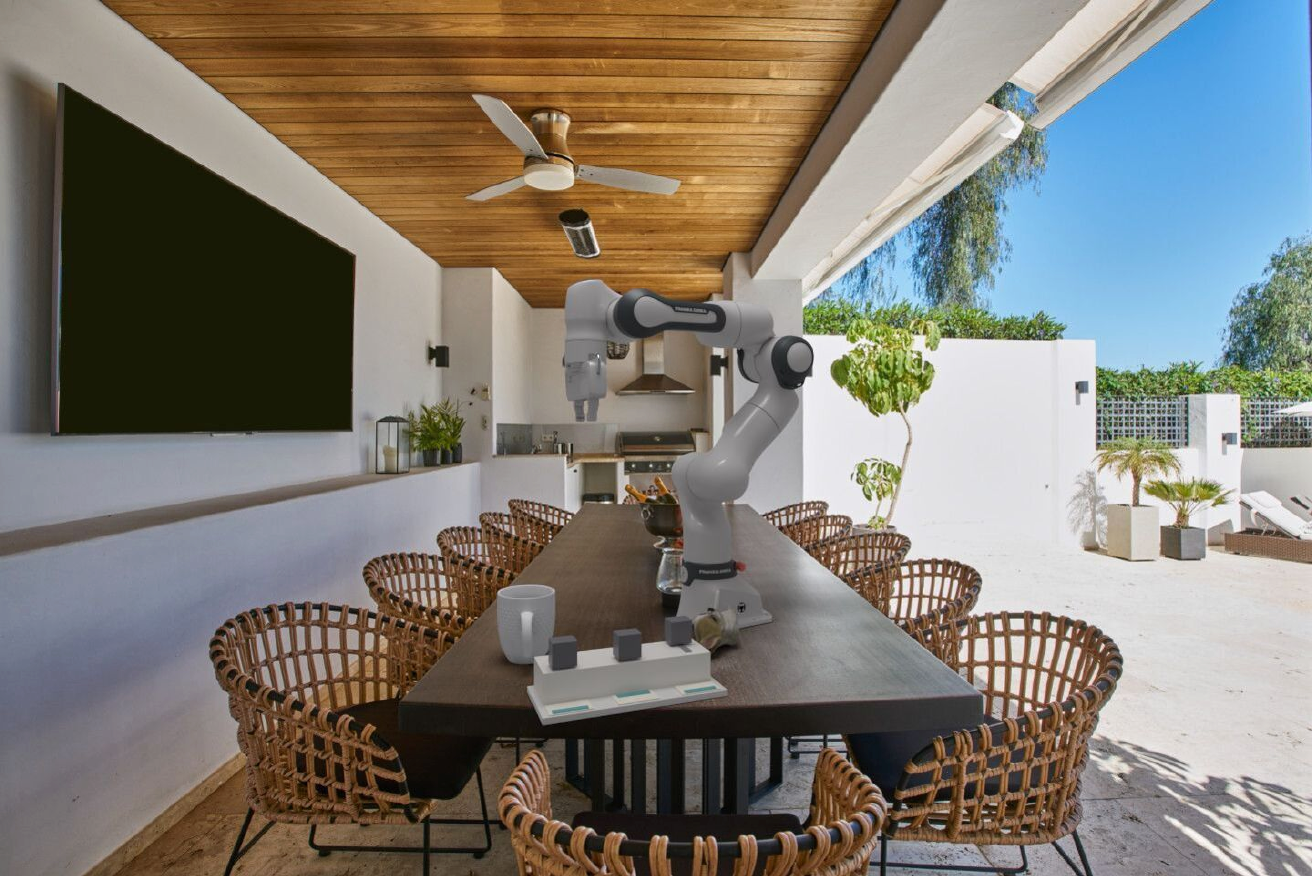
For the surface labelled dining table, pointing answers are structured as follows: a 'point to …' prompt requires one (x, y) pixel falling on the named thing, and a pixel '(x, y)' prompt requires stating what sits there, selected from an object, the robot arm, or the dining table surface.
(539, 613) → the mug
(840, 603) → the dining table surface
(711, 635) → the ceramic sculpture
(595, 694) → the switch unit
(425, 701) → the dining table surface
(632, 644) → the slider middle
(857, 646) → the dining table surface
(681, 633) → the slider
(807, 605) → the dining table surface
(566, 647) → the slider
